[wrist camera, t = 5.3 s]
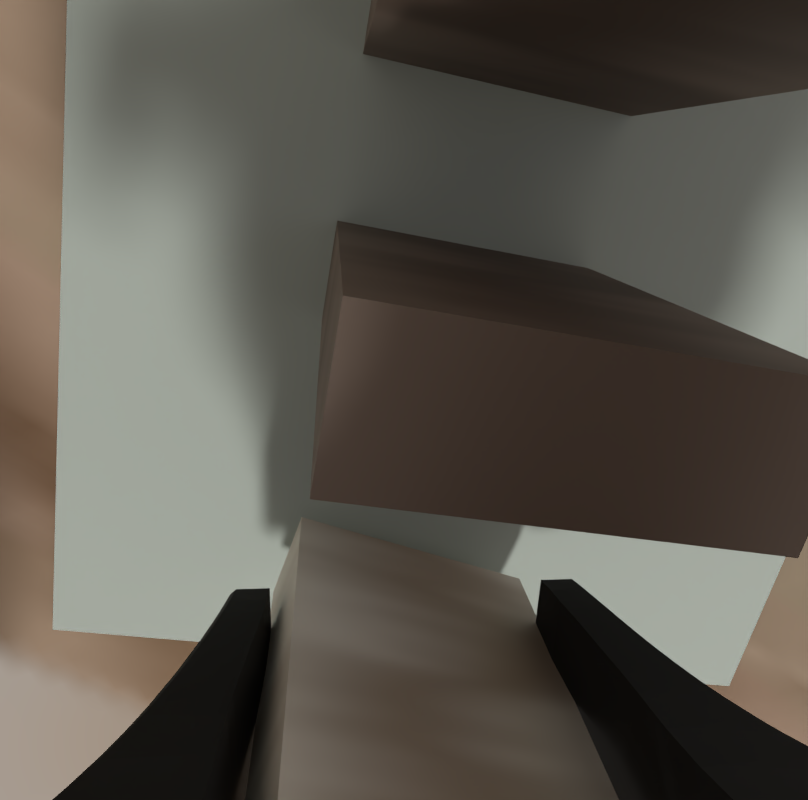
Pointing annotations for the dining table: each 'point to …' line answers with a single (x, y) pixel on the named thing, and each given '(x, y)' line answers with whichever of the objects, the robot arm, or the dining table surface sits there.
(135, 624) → the mat
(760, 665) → the dining table surface
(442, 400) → the tile
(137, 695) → the dining table surface
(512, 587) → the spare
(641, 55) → the tile
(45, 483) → the dining table surface
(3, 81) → the dining table surface
